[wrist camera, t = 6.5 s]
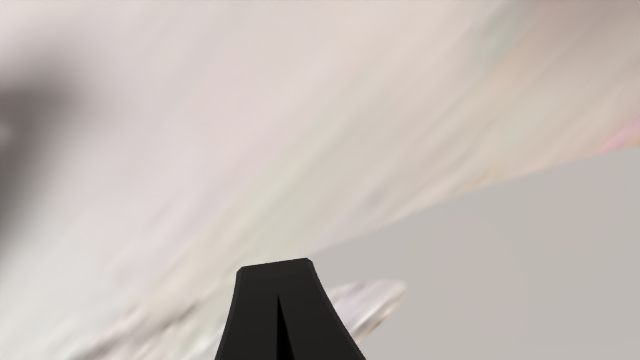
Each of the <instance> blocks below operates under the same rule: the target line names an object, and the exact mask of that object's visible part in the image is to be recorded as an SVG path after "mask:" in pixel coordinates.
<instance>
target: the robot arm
mask: <svg viewBox="0 0 640 360" xmlns="http://www.w3.org/2000/svg"><path fill="white" fill-rule="evenodd" d="M215 360H366V359H365V357H364V356H363V354H362V353H361V351H360V350H359V348H358V347H357V345H356V343H355V342H354V340H353V339H352V337H351V336H350V334H349V332H348V331H347V329H346V328H345V326H344V325H343V323H342V321H341V320H340V318H339V316H338V315H337V313H336V311H335V309H334V307H333V306H332V304H331V302H330V300H329V298H328V297H327V295H326V293H325V291H324V289H323V287H322V285H321V282H320V280H319V278H318V276H317V273H316V271H315V268H314V266H313V262H312V261H311V260H309V259H307V258H300V259H293V260H286V261H279V262H272V263H265V264H258V265H251V266H244V267H241V268H240V269H239V270H238V271H237V274H236V283H235V288H234V294H233V298H232V303H231V307H230V311H229V315H228V318H227V322H226V325H225V329H224V332H223V335H222V338H221V341H220V344H219V347H218V351H217V354H216V357H215Z"/></svg>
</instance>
